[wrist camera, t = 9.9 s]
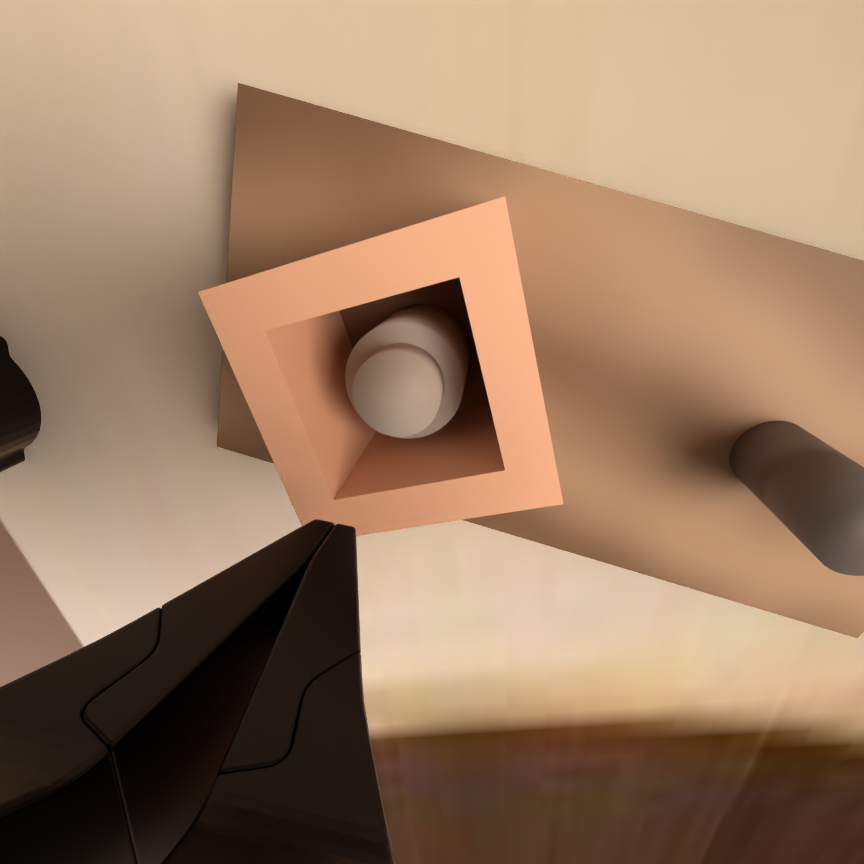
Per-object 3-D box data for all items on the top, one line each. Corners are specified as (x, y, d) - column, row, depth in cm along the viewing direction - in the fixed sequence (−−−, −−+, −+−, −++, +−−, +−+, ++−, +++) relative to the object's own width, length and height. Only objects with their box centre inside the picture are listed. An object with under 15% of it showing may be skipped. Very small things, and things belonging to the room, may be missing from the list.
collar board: (831, 608, 19) (968, 762, 13) (237, 431, 19) (133, 509, 14) (1078, 329, 14) (1460, 392, 8) (263, 97, 14) (115, 11, 9)
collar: (544, 425, 16) (563, 504, 11) (359, 461, 17) (309, 542, 13) (502, 209, 13) (505, 196, 9) (290, 274, 15) (198, 292, 10)
